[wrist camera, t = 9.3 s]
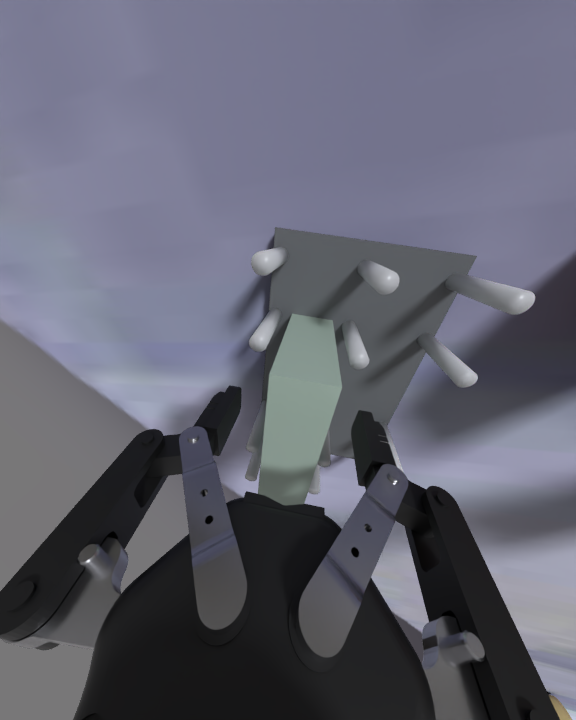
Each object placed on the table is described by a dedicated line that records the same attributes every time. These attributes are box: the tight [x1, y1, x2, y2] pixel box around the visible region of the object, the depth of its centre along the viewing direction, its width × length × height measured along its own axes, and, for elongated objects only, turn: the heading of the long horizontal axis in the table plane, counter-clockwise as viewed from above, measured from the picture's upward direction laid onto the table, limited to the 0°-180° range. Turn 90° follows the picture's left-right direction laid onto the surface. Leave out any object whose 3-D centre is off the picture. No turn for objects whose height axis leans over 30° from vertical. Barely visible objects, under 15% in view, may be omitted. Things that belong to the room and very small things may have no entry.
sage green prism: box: [258, 314, 342, 505], centre depth 15 cm, size 3×11×8 cm, turn 173°
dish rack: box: [245, 227, 535, 494], centre depth 16 cm, size 12×20×6 cm, turn 173°
